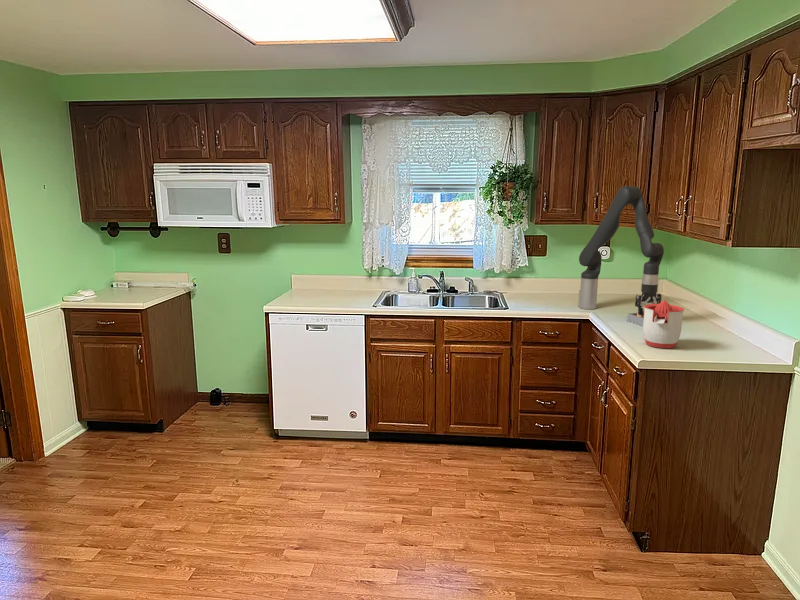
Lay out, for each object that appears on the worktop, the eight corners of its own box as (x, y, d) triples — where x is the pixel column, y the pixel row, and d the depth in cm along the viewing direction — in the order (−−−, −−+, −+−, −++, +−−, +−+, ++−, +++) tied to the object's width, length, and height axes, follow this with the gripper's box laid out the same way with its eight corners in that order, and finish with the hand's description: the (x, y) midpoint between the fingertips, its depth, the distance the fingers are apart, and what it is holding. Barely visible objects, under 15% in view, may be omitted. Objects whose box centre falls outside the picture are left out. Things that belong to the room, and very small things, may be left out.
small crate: (636, 320, 287) (637, 310, 286) (645, 319, 289) (645, 310, 288) (648, 323, 280) (649, 314, 279) (656, 322, 281) (657, 313, 280)
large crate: (626, 321, 288) (627, 313, 287) (648, 319, 292) (649, 311, 291) (644, 326, 276) (644, 318, 276) (666, 324, 281) (667, 316, 280)
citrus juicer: (636, 347, 240) (640, 301, 236) (644, 338, 254) (648, 295, 250) (676, 353, 231) (681, 306, 227) (682, 344, 245) (687, 299, 241)
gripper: (655, 281, 286) (652, 312, 289) (633, 282, 281) (630, 314, 285) (666, 283, 279) (663, 315, 282) (644, 284, 274) (641, 317, 278)
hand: (647, 314), depth 283 cm, fingers open, 8 cm apart
